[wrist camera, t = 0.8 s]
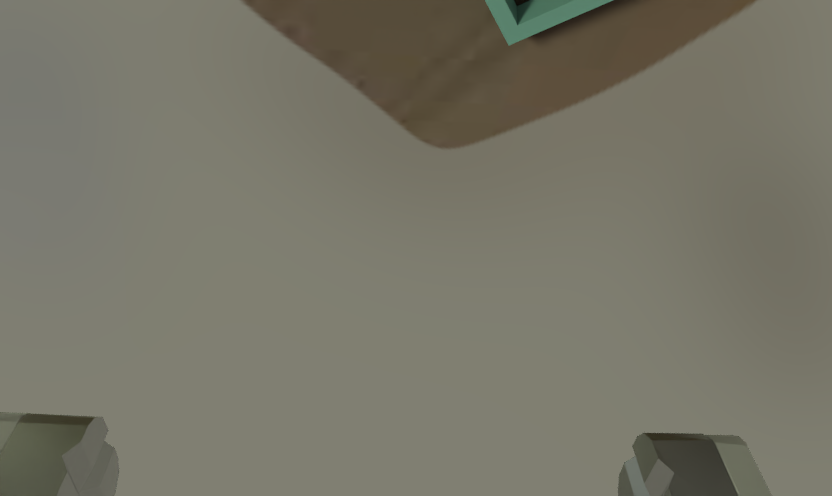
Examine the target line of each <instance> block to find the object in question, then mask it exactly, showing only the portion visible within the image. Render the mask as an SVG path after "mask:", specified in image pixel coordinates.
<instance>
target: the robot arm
mask: <svg viewBox="0 0 832 496" xmlns="http://www.w3.org/2000/svg"><path fill="white" fill-rule="evenodd" d="M107 432H108V429H107V426H106V424H105V422H104V419H103V417H94V416H72V415H48V414H31V413H6V412H0V496H114V495H115V492H116V487H117V480H118V474H119V465H118V457H117V453H116V451H115V448H114V447H112V446H111V445H109V444H108V443H106V442H105V441H104V439H105V437H106V435H107ZM633 449H634V452H635V457H633V458H631V459H630V460H628V461H626V462H625V463H624V465H623V467H622V470H621V472H620V474H619V484H618V485H619V486H618V496H772V495H771V493H770V491H769V488H768V486H767V485H766V482H765V480H764V479H763V476H762V475H761V472H760V470H759V468H758V466H757V464H756V462H755V460H754V458H753V457H752V454H751V452H750V450H749V448H748V446H747V444H746V442H744V441H743V440H742V439H741V438H740V437H739V436H734V435H704V434H685V433H684V434H683V433H681V434H680V433H643V434H641V435H639V436H637V438H636V440H635V442H634V444H633Z"/></svg>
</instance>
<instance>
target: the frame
mask: <svg viewBox="0 0 832 496" xmlns="http://www.w3.org/2000/svg"><path fill="white" fill-rule="evenodd" d="M485 1H486V3H487V5H488V7H489V9H490V11H491V13H492V15H493V16H494V18H495V20H496V22H497V24H498V26H499V28H500V30H501V32H502V34H503V35H504V37H505V39H506V41H507V43H508V45H511V44H513V43H516V42H518V41H520V40H523V39H525V38H527V37H530V36H532V35H534V34H537V33H539V32H541V31H543V30H546V29H548V28H550V27H553V26H555V25H557V24H560V23H562V22H564V21H567V20H569V19H571V18H573V17H576V16H578V15H580V14H583V13H585V12H587V11H590V10H592V9H594V8H597V7H599V6H601V5H604V4H606V3H608V2H610V1H613V0H529V1H527V2H525V3H523V4H521V5H518V6H517V5H516V3H515V1H514V0H485Z"/></svg>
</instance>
